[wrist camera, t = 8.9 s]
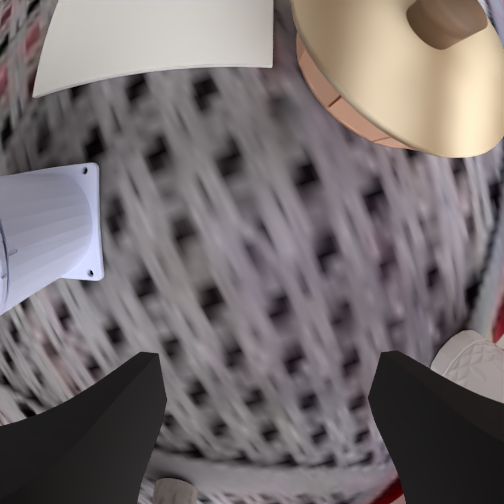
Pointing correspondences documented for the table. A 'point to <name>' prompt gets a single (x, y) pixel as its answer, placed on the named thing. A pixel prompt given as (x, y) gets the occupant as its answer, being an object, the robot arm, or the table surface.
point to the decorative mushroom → (174, 492)
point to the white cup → (472, 364)
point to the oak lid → (412, 68)
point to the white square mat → (151, 39)
